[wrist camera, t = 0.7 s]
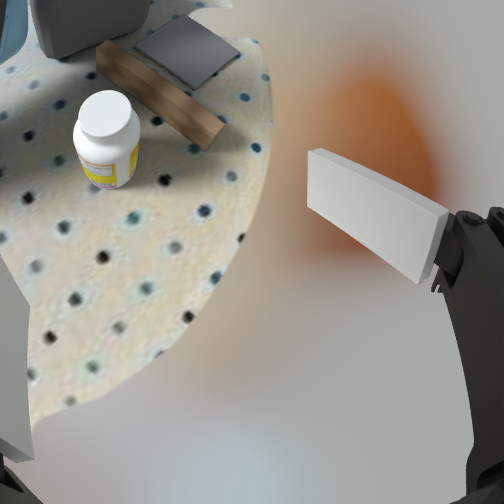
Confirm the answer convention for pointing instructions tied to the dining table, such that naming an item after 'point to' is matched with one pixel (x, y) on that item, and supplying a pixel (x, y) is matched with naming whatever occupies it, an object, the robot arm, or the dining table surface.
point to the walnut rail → (158, 94)
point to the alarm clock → (84, 22)
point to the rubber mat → (187, 50)
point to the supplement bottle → (107, 139)
